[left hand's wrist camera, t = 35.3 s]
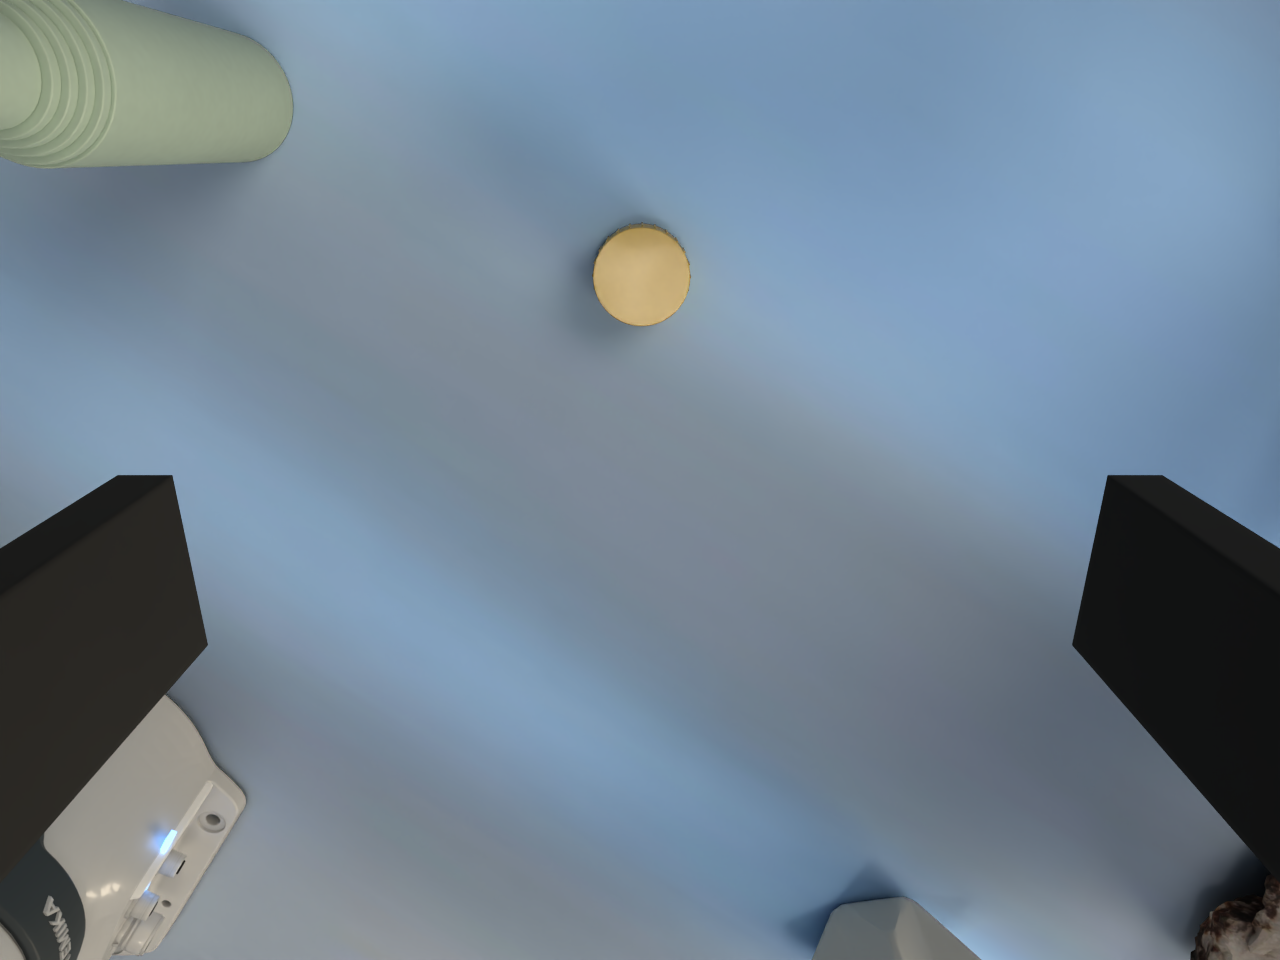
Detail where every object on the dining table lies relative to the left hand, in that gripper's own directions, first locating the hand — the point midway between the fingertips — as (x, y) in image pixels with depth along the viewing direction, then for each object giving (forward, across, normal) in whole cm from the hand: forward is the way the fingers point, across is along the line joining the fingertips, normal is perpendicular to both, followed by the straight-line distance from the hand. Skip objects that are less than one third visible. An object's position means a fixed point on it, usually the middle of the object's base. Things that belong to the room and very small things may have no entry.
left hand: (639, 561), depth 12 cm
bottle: (+31, +18, -8) cm, 37 cm away
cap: (+30, 0, 0) cm, 30 cm away
